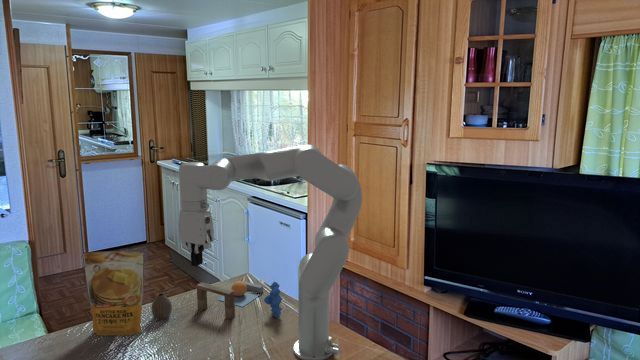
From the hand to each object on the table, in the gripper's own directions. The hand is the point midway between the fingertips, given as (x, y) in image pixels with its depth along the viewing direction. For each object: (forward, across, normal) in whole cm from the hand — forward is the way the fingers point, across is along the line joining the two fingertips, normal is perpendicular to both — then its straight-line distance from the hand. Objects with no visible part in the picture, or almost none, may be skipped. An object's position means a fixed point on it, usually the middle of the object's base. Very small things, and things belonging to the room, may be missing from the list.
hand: (197, 264), depth 135 cm
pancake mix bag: (+29, +33, +4) cm, 44 cm away
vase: (+29, +28, -10) cm, 41 cm away
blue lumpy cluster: (+29, -6, -31) cm, 43 cm away
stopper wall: (+29, +13, -44) cm, 54 cm away
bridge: (+29, +13, -22) cm, 39 cm away
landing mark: (+29, +13, -36) cm, 48 cm away
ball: (+26, +14, -37) cm, 47 cm away
